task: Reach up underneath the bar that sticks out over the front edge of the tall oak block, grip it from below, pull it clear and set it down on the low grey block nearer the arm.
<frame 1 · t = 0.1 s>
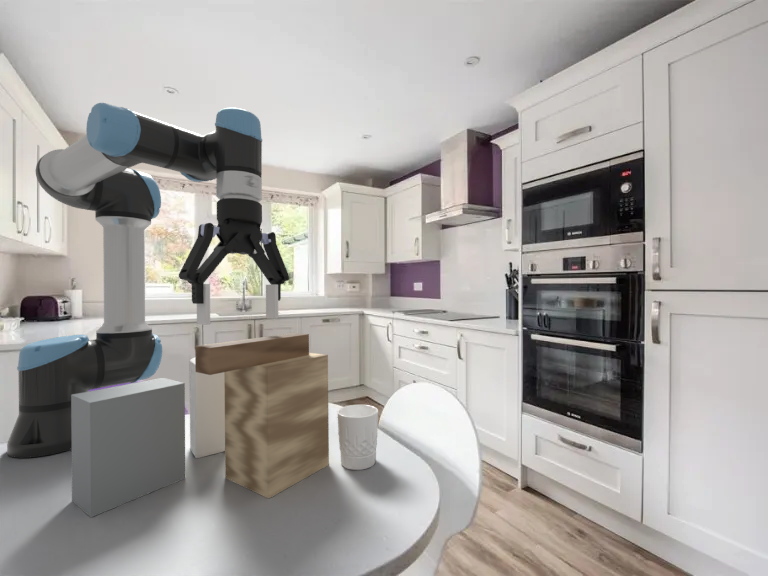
hand: (240, 321, 67), 28 cm above the table, tool pointing down, fingers open, 13 cm apart
white cup: (358, 463, 73), on the table
milk carton: (272, 430, 90), on the table
bar: (258, 362, 65), point 21 cm above the table, touching oak block
milk: (208, 450, 79), on the table
oak block: (278, 471, 70), on the table
grey block: (131, 488, 64), on the table
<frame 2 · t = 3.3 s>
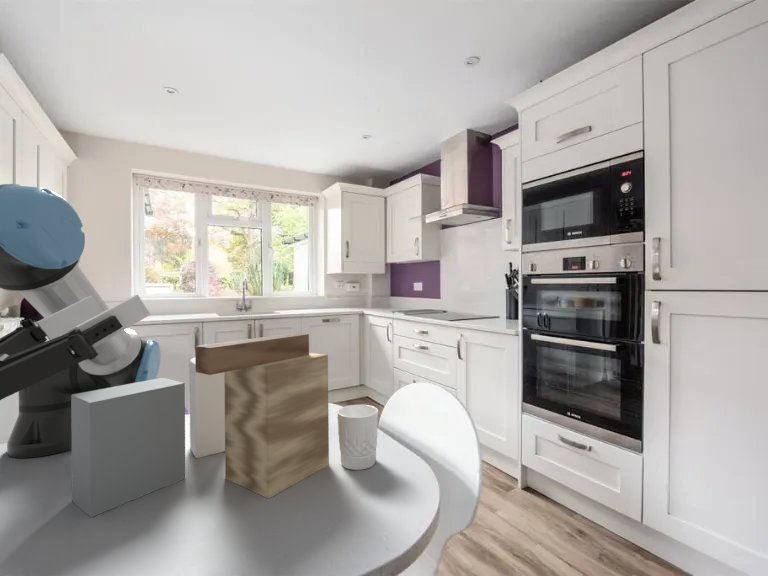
hand: (118, 304, 48), 32 cm above the table, tool pointing upward, fingers open, 13 cm apart
nothing on the table moved.
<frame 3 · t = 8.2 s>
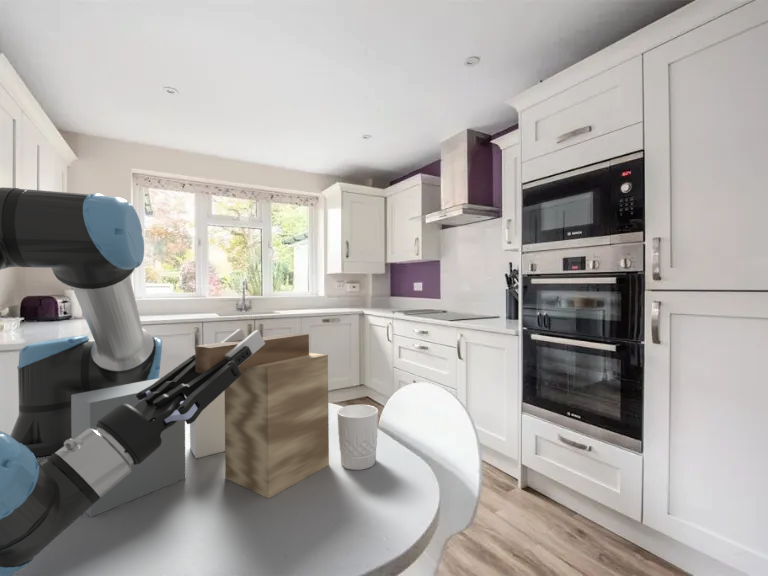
hand: (251, 336, 64), 26 cm above the table, tool pointing upward, fingers closed on bar, 4 cm apart
bar: (258, 362, 65), point 21 cm above the table, touching gripper, oak block
everything else where it was.
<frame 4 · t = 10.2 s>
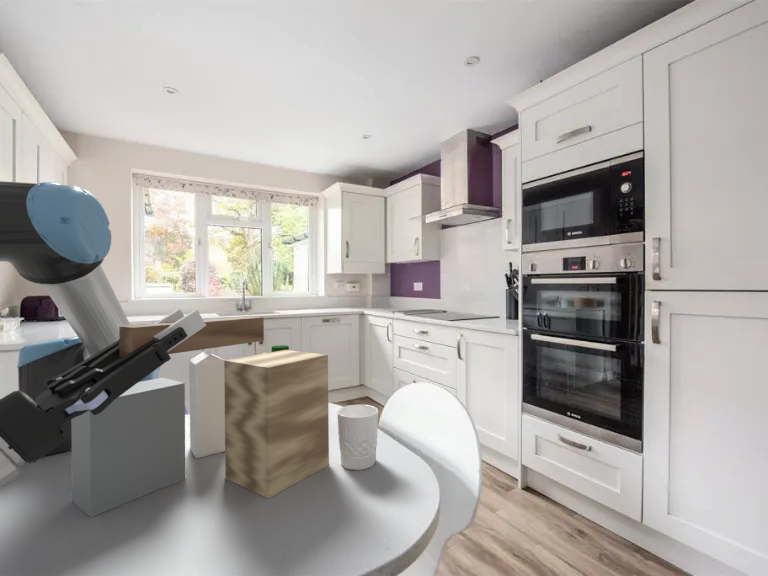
hand: (191, 317, 56), 30 cm above the table, tool pointing upward, fingers closed on bar, 4 cm apart
bar: (200, 347, 57), point 25 cm above the table, touching gripper
everything else where it was.
when the fingers open (25 cm above the table, at t = 12.6 s): bar drops 3 cm, resting on grey block.
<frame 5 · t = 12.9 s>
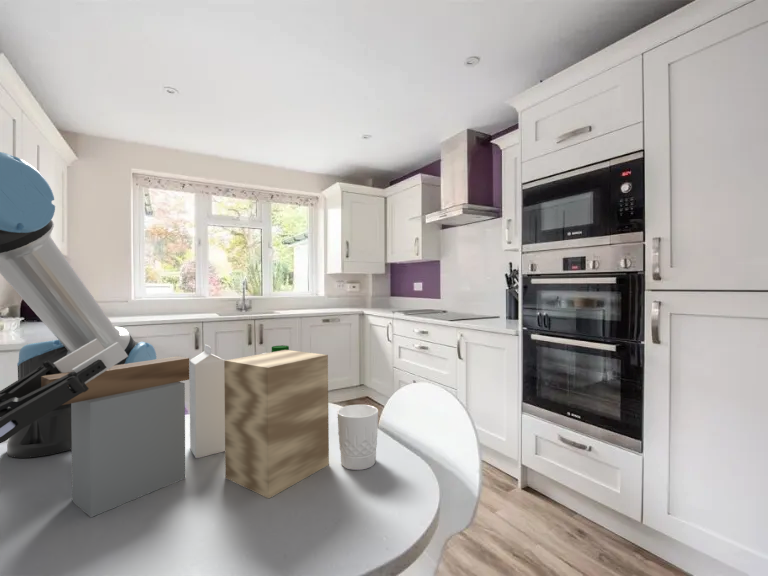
hand: (111, 347, 62), 24 cm above the table, tool pointing upward, fingers open, 8 cm apart
bar: (123, 390, 63), point 17 cm above the table, touching grey block
everything else where it was.
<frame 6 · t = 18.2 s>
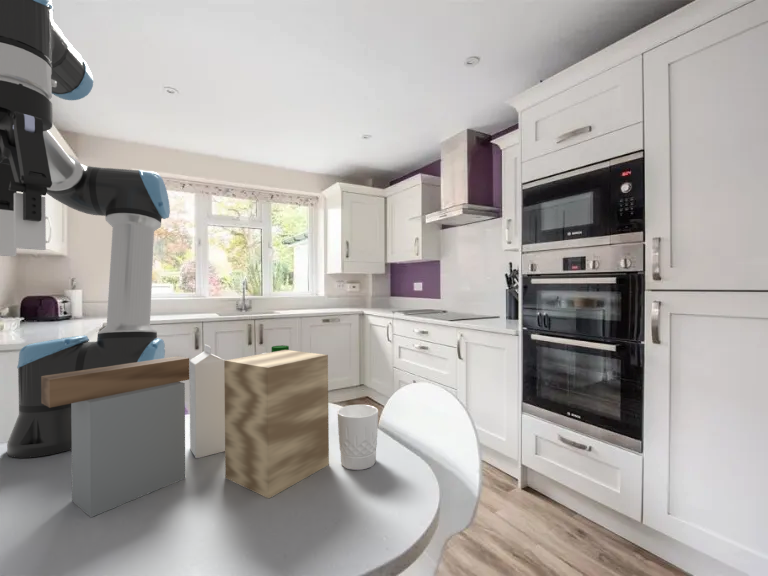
hand: (15, 252, 49), 39 cm above the table, tool pointing down, fingers open, 13 cm apart
nothing on the table moved.
at the end: bar inside the target area (1.2 cm from its centre), point 17.0 cm above the table; bar moved 22.5 cm from its start; the gripper is holding nothing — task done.
